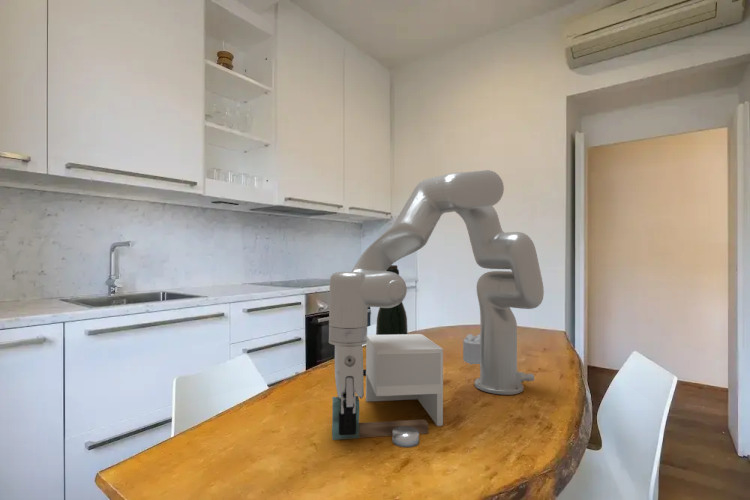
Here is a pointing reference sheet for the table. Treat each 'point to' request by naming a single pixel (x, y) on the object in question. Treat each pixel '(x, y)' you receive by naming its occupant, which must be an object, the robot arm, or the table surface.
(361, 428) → the mallet
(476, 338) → the lumpy-topped squat cylinder
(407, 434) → the silver metal dome
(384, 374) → the cabinet
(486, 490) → the table surface
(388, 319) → the dark green wine bottle
